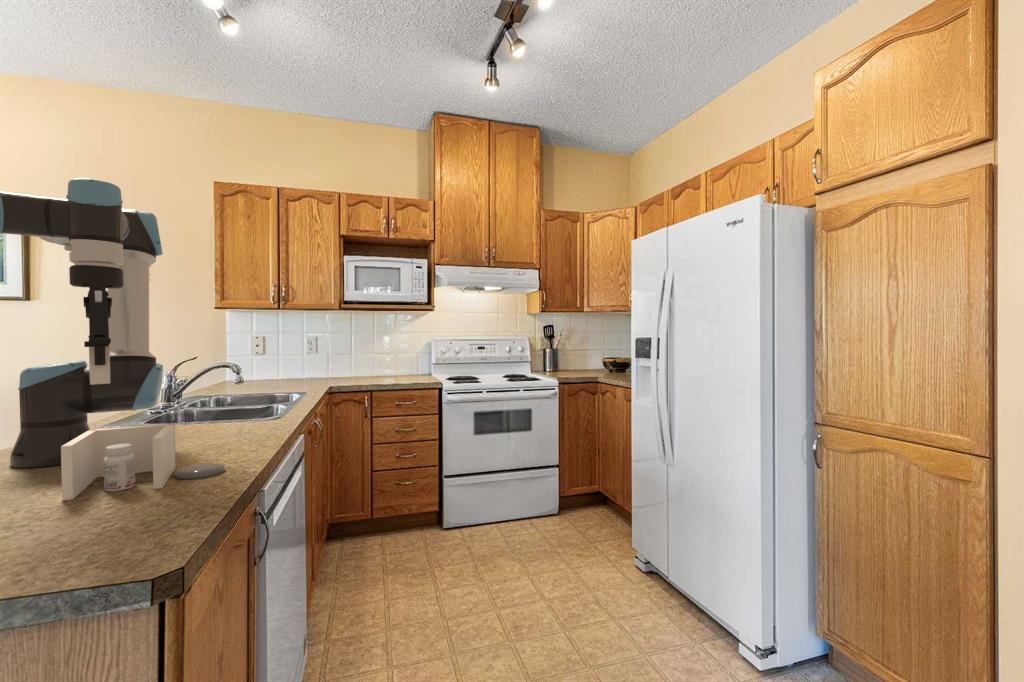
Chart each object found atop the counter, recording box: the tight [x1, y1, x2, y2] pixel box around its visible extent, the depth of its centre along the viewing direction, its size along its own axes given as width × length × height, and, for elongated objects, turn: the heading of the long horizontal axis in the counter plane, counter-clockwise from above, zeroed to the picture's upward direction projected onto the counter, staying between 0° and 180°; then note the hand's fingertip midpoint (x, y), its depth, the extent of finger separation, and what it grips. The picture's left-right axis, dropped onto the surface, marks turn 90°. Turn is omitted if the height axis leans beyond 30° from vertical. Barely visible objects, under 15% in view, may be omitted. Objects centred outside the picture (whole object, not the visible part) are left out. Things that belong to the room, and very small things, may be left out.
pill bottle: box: [103, 444, 136, 493], centre depth 94 cm, size 5×5×8 cm
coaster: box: [174, 463, 225, 481], centre depth 103 cm, size 9×9×1 cm
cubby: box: [60, 423, 177, 502], centre depth 97 cm, size 16×15×10 cm
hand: (99, 380), depth 88 cm, fingers open, 13 cm apart
